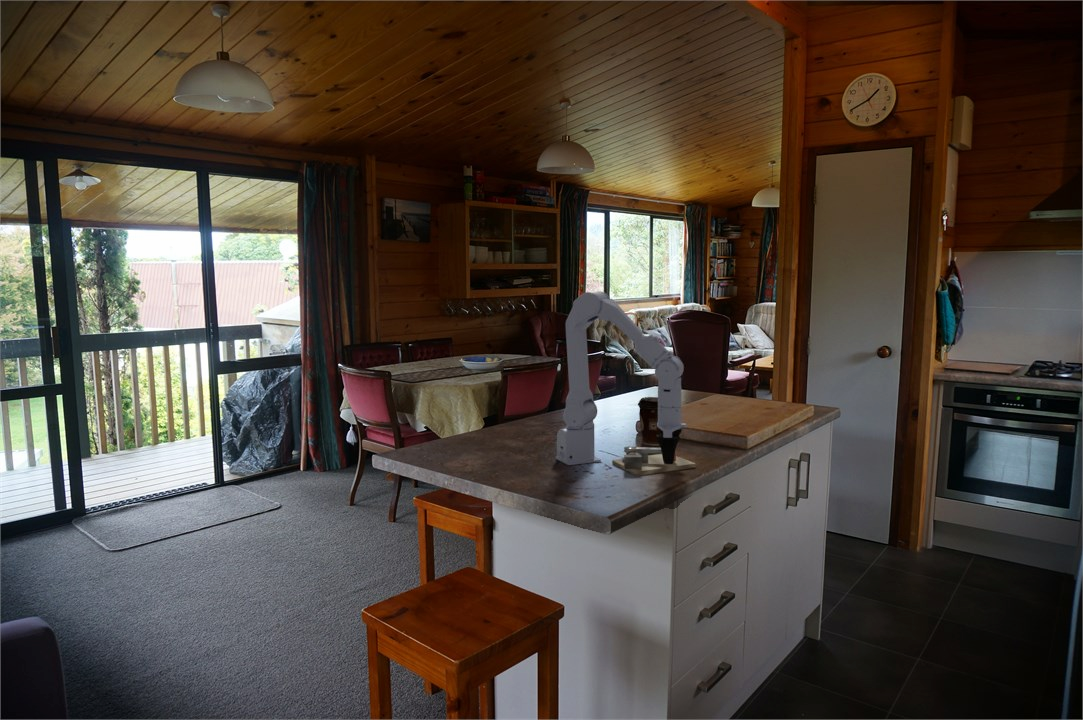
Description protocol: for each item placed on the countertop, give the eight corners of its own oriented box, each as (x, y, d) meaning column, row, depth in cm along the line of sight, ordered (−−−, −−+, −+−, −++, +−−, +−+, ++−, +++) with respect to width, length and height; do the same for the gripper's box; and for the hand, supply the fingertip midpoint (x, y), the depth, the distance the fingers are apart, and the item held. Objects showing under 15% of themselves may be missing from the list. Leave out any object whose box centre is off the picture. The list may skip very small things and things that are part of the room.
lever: (623, 461, 177) (623, 445, 177) (624, 458, 180) (624, 442, 180) (676, 463, 175) (676, 446, 175) (675, 460, 178) (675, 443, 178)
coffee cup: (632, 444, 200) (633, 399, 199) (642, 438, 208) (643, 395, 206) (662, 447, 196) (662, 402, 195) (671, 441, 204) (671, 397, 202)
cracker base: (631, 476, 168) (631, 459, 168) (607, 464, 179) (607, 448, 179) (695, 467, 176) (695, 451, 175) (668, 456, 187) (668, 441, 186)
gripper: (684, 411, 165) (684, 468, 167) (687, 401, 179) (686, 453, 181) (654, 411, 167) (654, 467, 168) (659, 400, 181) (659, 452, 182)
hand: (669, 460), depth 175 cm, fingers open, 7 cm apart
